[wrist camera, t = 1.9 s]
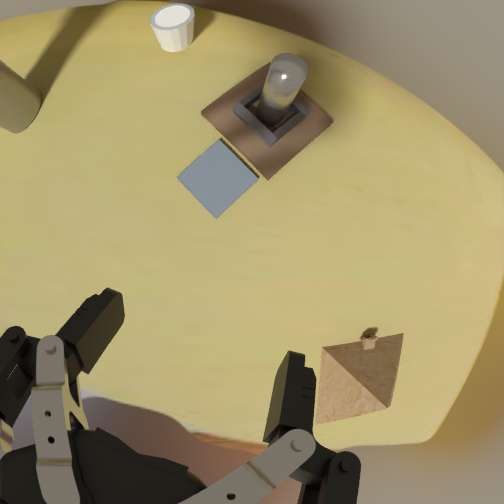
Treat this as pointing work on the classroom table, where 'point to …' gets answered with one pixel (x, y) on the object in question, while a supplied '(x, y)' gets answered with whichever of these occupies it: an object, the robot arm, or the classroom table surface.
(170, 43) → the white cup
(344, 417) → the model pyramid
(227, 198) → the pad
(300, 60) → the peg
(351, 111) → the classroom table surface
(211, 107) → the square socket base
